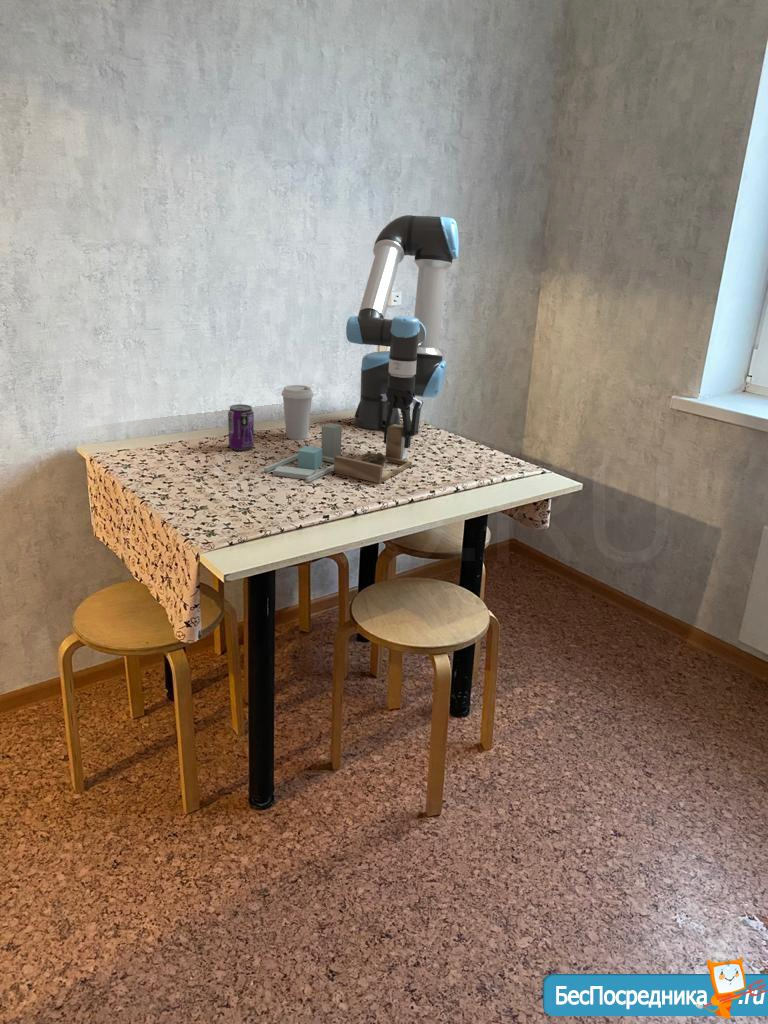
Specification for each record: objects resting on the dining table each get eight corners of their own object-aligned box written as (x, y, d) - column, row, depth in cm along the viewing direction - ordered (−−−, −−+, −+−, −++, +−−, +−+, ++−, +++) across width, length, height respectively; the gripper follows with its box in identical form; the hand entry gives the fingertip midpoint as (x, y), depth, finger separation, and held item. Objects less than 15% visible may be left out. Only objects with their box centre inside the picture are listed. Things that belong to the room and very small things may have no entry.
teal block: (305, 463, 212) (305, 445, 210) (322, 465, 210) (322, 448, 208) (297, 468, 207) (297, 450, 205) (314, 471, 206) (314, 453, 204)
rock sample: (369, 449, 213) (373, 436, 205) (386, 470, 212) (390, 459, 203) (339, 468, 210) (341, 456, 202) (355, 490, 209) (358, 479, 200)
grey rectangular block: (279, 469, 205) (279, 465, 204) (315, 474, 203) (315, 470, 202) (273, 475, 201) (273, 470, 200) (309, 479, 199) (309, 475, 198)
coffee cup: (297, 443, 228) (298, 393, 222) (274, 436, 233) (274, 387, 228) (319, 436, 235) (320, 388, 229) (296, 430, 240) (296, 382, 235)
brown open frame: (377, 451, 224) (378, 421, 220) (420, 460, 218) (422, 429, 214) (333, 472, 205) (334, 439, 201) (379, 483, 198) (381, 449, 195)
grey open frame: (314, 450, 222) (314, 419, 218) (356, 459, 216) (357, 428, 212) (264, 471, 203) (263, 438, 199) (308, 482, 196) (308, 448, 193)
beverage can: (251, 452, 218) (251, 410, 213) (226, 450, 218) (225, 409, 213) (256, 444, 224) (255, 404, 220) (231, 443, 224) (230, 403, 220)
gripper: (368, 372, 212) (363, 454, 220) (423, 381, 204) (416, 465, 212) (381, 368, 218) (376, 448, 226) (435, 377, 211) (428, 459, 219)
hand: (396, 456), depth 219 cm, fingers closed on brown open frame, 4 cm apart
